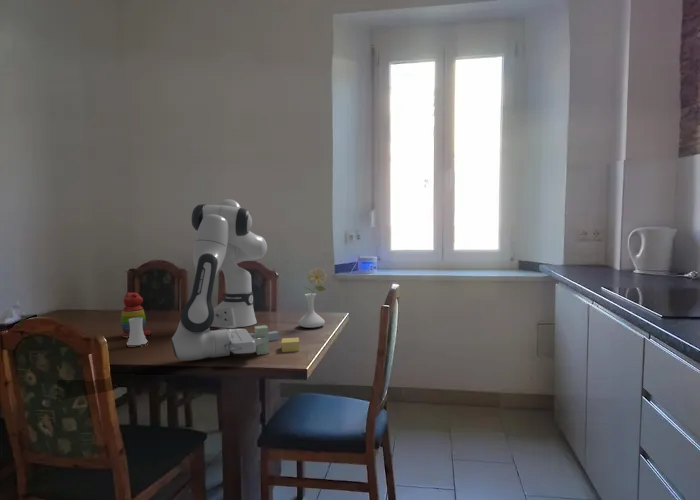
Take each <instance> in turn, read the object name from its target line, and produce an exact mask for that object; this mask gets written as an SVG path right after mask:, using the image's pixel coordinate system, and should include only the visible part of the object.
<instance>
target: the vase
mask: <svg viewBox="0 0 700 500" xmlns="http://www.w3.org/2000/svg"><path fill="white" fill-rule="evenodd" d="M142 320H143V318H131V319H129V324H130V334H129V338H127V342H126V343H125V344H127V345H141V344H146V343H147V342H148V343H149V340H147V337H146V336H145V335H144V332H143V326H142Z"/></svg>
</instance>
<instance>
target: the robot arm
mask: <svg viewBox="0 0 700 500" xmlns="http://www.w3.org/2000/svg"><path fill="white" fill-rule="evenodd" d="M191 226H192V228H193V229H194V230H195V231H196V235H195V238H194V243H193V248H192V249H193V250H192V263H193V264H194V269H195V274H194V280H193V285H192V291H191V294H190V297H189V300H188V301H187V302H186V303H185V305H184V307H183V308H182V309H181V312H180V320H179V323H178V326H177V329H176V330H175V333H174V334H173V335H172V337H171V338H170V339H171V340H170V344H171V347H172V348H171V349H172V352H173V354H174V357H175V358H176V359H177V360H179V361H197V360H203V359H206V358H220V357H228V356H229V357H230V355H231V353H233V354H237V355H239V354H250V353H254V352H255V353H256V345H259V344H262V343H266V338H265V337H260V338H257V339H256V338H255V333H253V332H252V333H249V331H248V330H247V329H245V328H242V327H250V326H253V325H256V324H257V323H258V322H257V318H256V314H255V310H254V292H253V290H252V288H253V287H252V274H251V273H250V272H249V271H248V270H246V268H243V267H241V266H239V265H238V264H237V262H238V261H254V260H259V259H263V258H264V257H265V256H266V253H267V251H268V243H267V242H266V240H265V238H264V237H263V236H261V235H258V234H256V233H254V232H252V231H251V228H252V226H253V218H252V213H251V212H250V211H249V210H248V209H246V208H244V207H241V205H240V204H239V202H237V201H236V200H234V199H231V198H229V199H228V198H226V199H223V200H221V201H220V202H218V204H207V203H202V204H201V203H200V204H197V205H196V206H195V207H193V210H192V213H191ZM220 269H221V271H222V273H223V276H224V277H223V278H224V283H225V292H224V293H223V294H220V298H223V299H222V301H221V302H220V303H219V304H218V305H216V306H215V307H213V303H212V302H213V301H212V296H213V290H214V287H215V279H216V276H217V274H218V271H219V270H220ZM210 327H213V328H218V329H216V330H210V329H211V328H210Z"/></svg>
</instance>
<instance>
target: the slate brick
mask: <svg viewBox="0 0 700 500" xmlns="http://www.w3.org/2000/svg"><path fill="white" fill-rule="evenodd" d="M268 333H269V342H273V341H280V335H279V334H280V333H279V332H278V331H277V330H274V331H268Z"/></svg>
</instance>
